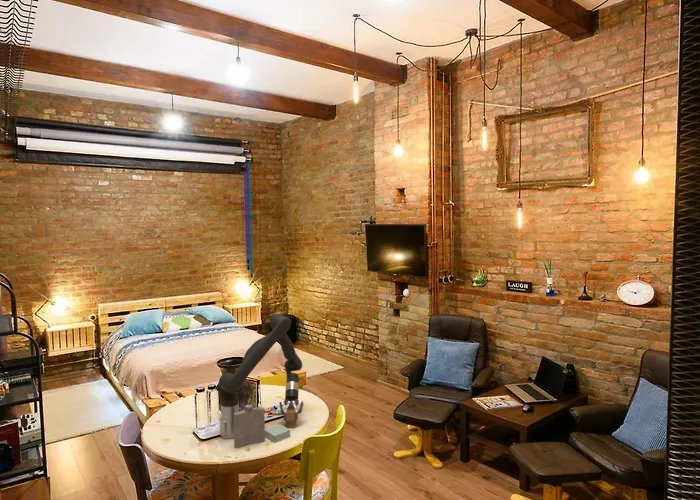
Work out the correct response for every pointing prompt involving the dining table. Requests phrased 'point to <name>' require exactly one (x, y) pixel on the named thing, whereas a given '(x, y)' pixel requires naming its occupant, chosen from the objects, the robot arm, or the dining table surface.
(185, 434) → the dining table surface
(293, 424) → the walnut block
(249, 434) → the hip flask
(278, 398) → the dining table surface
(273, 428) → the plinth block
